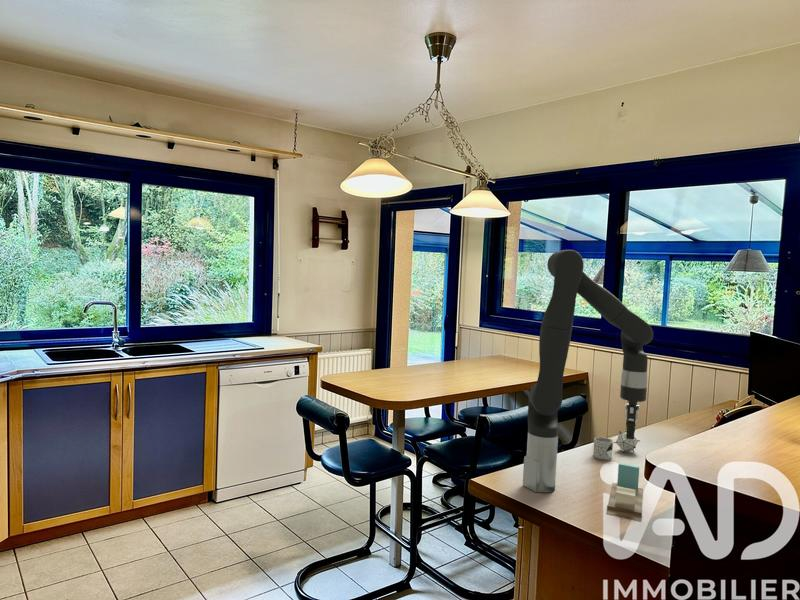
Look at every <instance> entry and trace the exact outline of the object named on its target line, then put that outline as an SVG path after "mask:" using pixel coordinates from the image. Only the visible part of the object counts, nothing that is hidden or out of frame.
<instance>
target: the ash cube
mask: <svg viewBox="0 0 800 600" xmlns="http://www.w3.org/2000/svg"><path fill="white" fill-rule="evenodd" d="M635 494H636V490H634V489H629V488H624V487H619V486H617V489H616V499H615V507H619V508H624V509H628V510H633V511H634V508H635Z"/></svg>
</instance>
